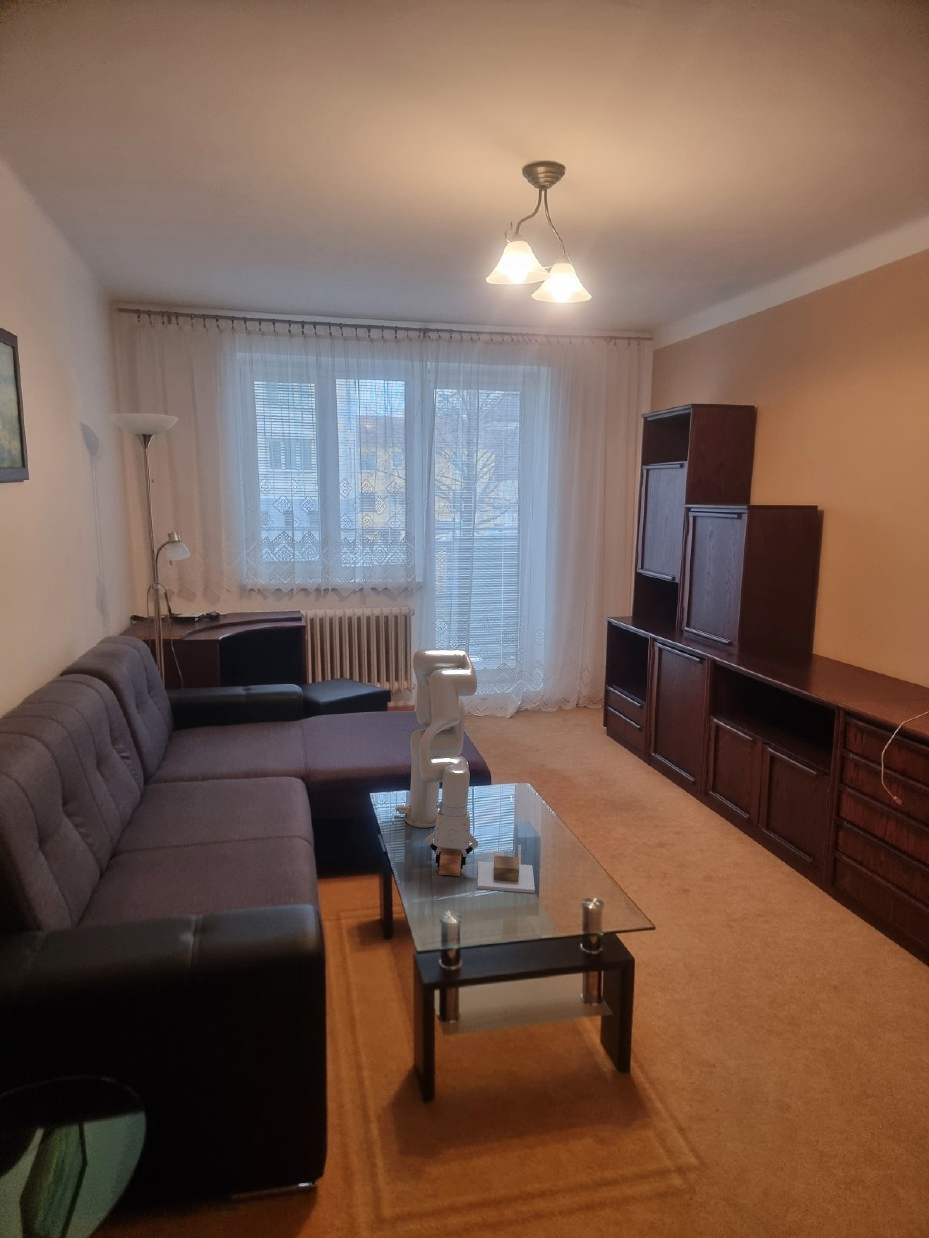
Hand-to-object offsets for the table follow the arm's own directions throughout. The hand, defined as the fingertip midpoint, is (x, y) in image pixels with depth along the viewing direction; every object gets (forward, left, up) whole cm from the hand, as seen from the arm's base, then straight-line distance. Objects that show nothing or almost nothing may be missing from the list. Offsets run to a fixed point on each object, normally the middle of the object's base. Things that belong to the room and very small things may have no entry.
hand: (450, 865), depth 221 cm
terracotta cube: (0, 0, -1) cm, 1 cm away
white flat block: (+16, -1, -2) cm, 16 cm away
